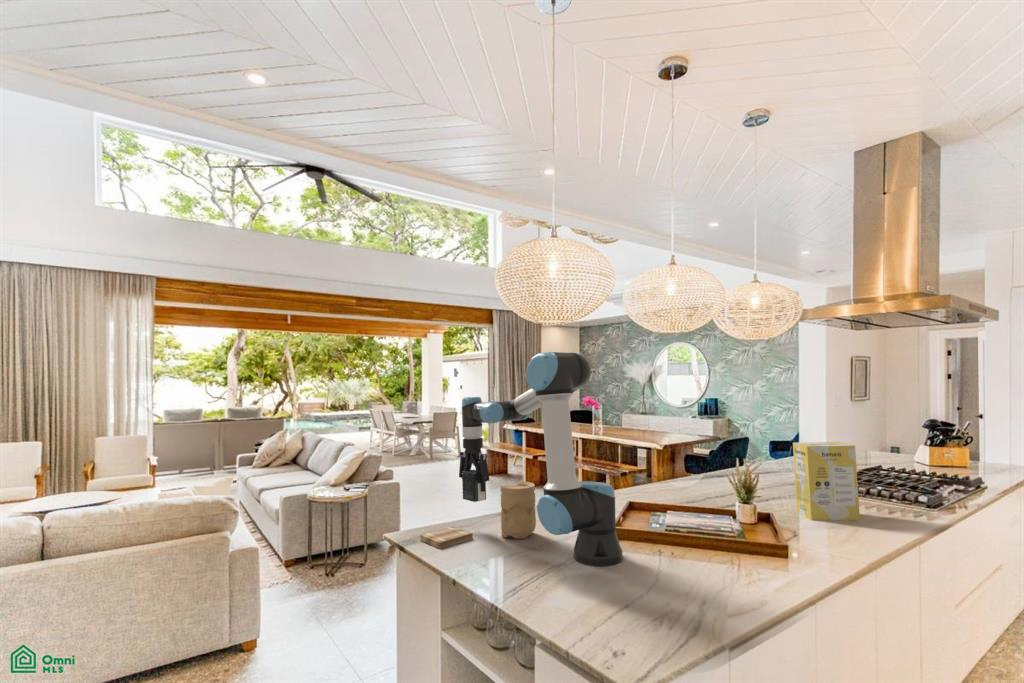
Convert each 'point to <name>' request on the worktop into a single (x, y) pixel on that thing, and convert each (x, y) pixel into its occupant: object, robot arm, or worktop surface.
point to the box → (470, 485)
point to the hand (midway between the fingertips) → (474, 498)
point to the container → (518, 510)
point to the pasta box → (826, 481)
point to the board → (446, 537)
